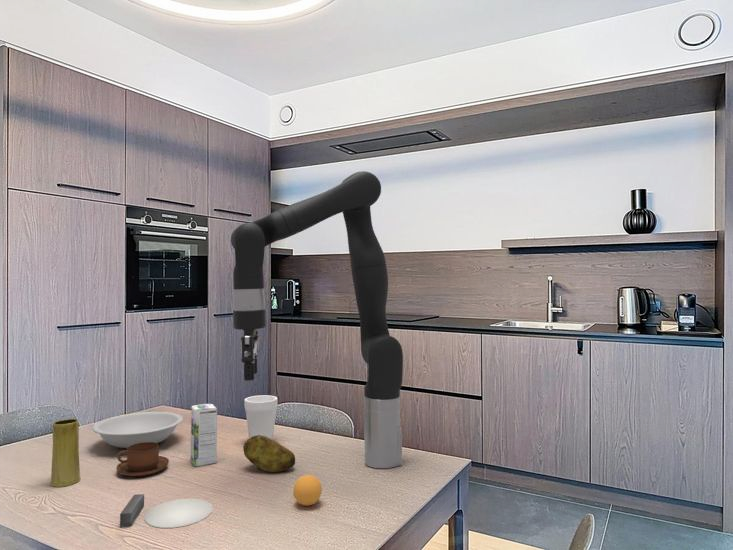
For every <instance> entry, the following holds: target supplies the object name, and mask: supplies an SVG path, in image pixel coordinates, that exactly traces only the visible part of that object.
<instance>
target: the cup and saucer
mask: <svg viewBox="0 0 733 550" xmlns="http://www.w3.org/2000/svg"><path fill="white" fill-rule="evenodd" d="M122 454H125V455H126V459H122V458H121V455H122ZM159 454H160V445H159V443H154V442H144V443H138V444H134V445H131V446H129V447H128V448H126V450H120V451H119V452H118V454H117V461H118V462H119V463H118V464H117V465H116V468H115V469H116V472H117V473H119V474H120V475H123V476H125V477H144V476H148V475H153V474H155V473H158V472H160V471H162V470H163V469H165V468H166V467H167V466H168V465H169V463H170V461H169V460H170V459H169V458H168V457H165V456H162V455H161V456H160V455H159Z"/></svg>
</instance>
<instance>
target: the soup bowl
mask: <svg viewBox="0 0 733 550" xmlns="http://www.w3.org/2000/svg"><path fill="white" fill-rule="evenodd" d="M183 422H184V418H183V415H181V414H178V413H175V412H171V411H170V412H169V411H142V412H132V413H126V414H121V415H116V416H111V417H108V418H104V419H102V420H99V421H98V422H96V423H95V424H93V425H92V427H91V429H92V431H93V432H94V433H96V434H98V435H99V436H100V437H101V439H102V440H103V441H104V442H106V443H107V444H109V445H111V446H113V447H115V448H121V449H127V448H128V447H129V446H131V445H134V444H138V443H144V442H154V443H158V444H159V443H161V442H163V441H164V440H166V439H167V438H168V437H170V436H171V435H172V433H174V431H175V429H176V428H177V426H178V425H181V423H183Z"/></svg>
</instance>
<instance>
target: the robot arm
mask: <svg viewBox="0 0 733 550" xmlns="http://www.w3.org/2000/svg"><path fill="white" fill-rule="evenodd" d="M381 194H382V183H381V181H380V180H379V178H378V177H377V176H376V175H375V174H373V173H372V172H370V171H365V170H364V171H363V170H362V171H357V172H355V173H354V172H353V173H352V174H351V175H349V176H348V177H346V178H344V179H343V180H342V181H341V183H340V184H338V185H336V186H334V187H332V188H330V189H328V190H325V191H324V192H321V193H319V194H316V195H314V196H311V197H308V198H306V199H302V200H299V201H297V202H294V203H291V204H289V205H287V206H284V207H282V208H280V209H279V208H278V209H277V210H275V211H272V212H270V213H269V214H267V216H264V217H262V218H259V219H256V220H254V221H251V222H245V223H242V224H240V225H238V226H237V227H236V228H235V229H234V230H233V231H232V233H231V235H230V243H231V247H232V248H233V249H234V264H235V266H234V268H233V273H232V274H233V277H232V278H233V281H232V283H233V294H232V323H233V324H232V325H233V328H234V330H239V331H240V330H243V335H241V337H240V345H241V349H240V351H241V352H240V353H241V359H240V360H241V363H242V364H243V377H244V378H243V379H244V381H245V382H246V381H250V382H251V381H254V380H255V375H256V374H257V373H258V358H259V351H260V350H259V349H260V335H258V334H259V331H258V329H259V330H261V329H264V328H266V326H267V320H266V319H267V318H266V315H267V312H266V311H267V310H266V295H265V289H264V288H265V283H264V282H265V280H264V262H265V261H264V259H265V252H266V251H265V248H266V247H267V246H269V245H271V244H273V243H275V242H278V241H282V240H284V239H287V238H290V237H292V236H294V235H297V234H298V233H301V232H304V231H305V230H307V229H310V228H311V227H315V225H317V224H319V223H321V222H323V221H325V220H327V219H329V218H331V217H333V216H335V215H338V214H341V213H342V216H343V219H344V224H345V229H346V233H347V234H346V235H347V244H348V252H349V259H350V271H351V276H352V277H351V278H352V282H353V283H352V284H353V289H354V296H355V300H356V301H355V302H356V306H357V311H358V317H359V318H358V319H359V328H360V329H359V330H360V351H361V356H362V359H363V361H364V362H365V363H366V364H367V382H366V384H365V385H364V387H363V388H364V389H363V390H364V392H363V393H364V400H363V401H364V403H363V405H364V407H363V408H364V409H363V410H364V411H363V413H364V419H363V420H364V421H363V422H364V424H363V425H364V427H363V428H364V436H363V437H364V440H363V441H364V455H363V457H364V464H365V465H366V466H368V467H370V468H375V469H390V468H395V467H399V466H403V430H402V426H401V419H400V418H401V416H400V415H401V414H400V411H401V406H400V405H401V403H400V402H401V398H400V397H401V394H400V393H401V388H402V385H403V376H404V375H403V371H404V370H403V369H404V356H403V355H404V352H403V348H402V345H401V343H400V341H399V340H397V338H395V337H393V336H392V335H391V334H390V331H389V327H388V320H387V314H386V308H387V301H388V300H387V299H388V292H389V275H388V269H387V268H388V267H387V262H386V257H385V254H384V251H383V248H382V245H381V244H380V242H379V239H378V237H377V236H376V233H375V231H374V226H373V222H372V211H371V207H372V206H373V205H374V204H375V203H376V202H377V201H378V200H379V198H380V196H381Z"/></svg>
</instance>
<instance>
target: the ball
mask: <svg viewBox="0 0 733 550" xmlns="http://www.w3.org/2000/svg"><path fill="white" fill-rule="evenodd" d="M322 490H323V487H322V483H321V482H320V480H319V479H318V478H317V477H316V476H314V475H312V474H304V475H302V476H300V477H298V479H297V480H296V481H295V483H294V486H293V490H292V491H293V496H294V499H295V501H296V502H297V503H299V504H300V505H302V506H306V507H307V506H311V505H314V504H316V503H317V502H318V501H319V500H320V498H321V495H322V493H323V492H322Z"/></svg>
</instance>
